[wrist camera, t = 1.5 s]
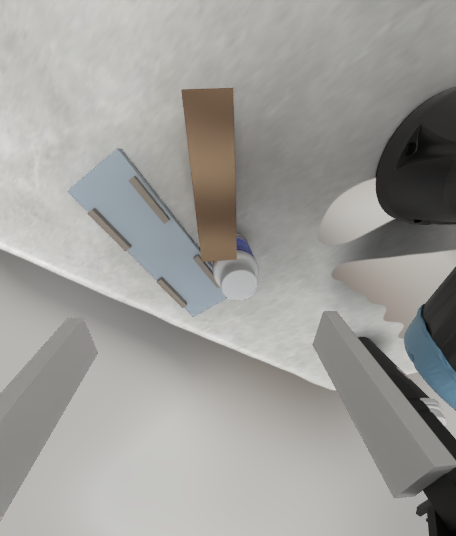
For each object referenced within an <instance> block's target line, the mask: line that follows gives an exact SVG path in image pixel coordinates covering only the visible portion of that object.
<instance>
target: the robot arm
mask: <svg viewBox="0 0 456 536" xmlns="http://www.w3.org/2000/svg"><path fill="white" fill-rule="evenodd" d="M376 193H377V198H378V201H379V203H380V205H381V207H382V209H383V210H384V211H385V212H386V213H387V214H388V215H390V216H391V217H393V218H396V219H399V220H402V221H405V222H408V223H411V224H418V225H429V224H437V225H443V224H456V87H455V88H451V89H448V90H446V91H443V92H441V93H439V94H437V95H435V96H434V97H432V98H430V99H429V100H427V101H426V102H424V103H423V104H422V105H421V106H419V107H418V108H417V109H416V110H415V111H414V112H412V113H411V114H410V115H409V116H408V117H407V119H406V120H405V121H404V122H403V123H402V124H401V125H400V127H399V128H398V129H397V131H396V132H395V134H394V135H393V137H392V138H391V140H390V141H389V143H388V145H387V147H386V149H385V151H384V153H383V155H382V158H381V161H380V164H379V167H378V171H377V177H376ZM404 344H405V349H406V351H407V353H408V356H409V358H410V359H411V361H412V362H413V363H414V365H415V368H416V369H417V371H418V372H419V374H420V375H421V376H422V377H423V379H424V380H425V381H426V382H427V383H428V384H429V386H430V387H431V388H432V389H433V390H434V391H435V392H436V393H437V394H438V395H439V396H440V397H441V398H442V399H443V400H444V401H445V402H446V403H448V404H449V405H450V406H451V407H452V408H453V409H454V410H456V267H455V268H454V269H453V271H452V272H451V273H450V274H449V276H448V277H447V278H446V279H445V280H444V282H443V283H442V284H441V285H440V286H439V288H438V289H437V290H436V291H435V292H434V294H433V295H432V296H431V297H430V299H429V300H428V301H427V302H426V304H423V305H422V306H421V307H420V308H419V309H418V312H417V316H416V317H415V318H414V320H413V321H412V323H411V324H410V325H409V327H408V328H407V330H406V332H405V336H404ZM313 346H314V348H315V350H316V352H317V354H318V356H319V358H320V360H321V362H322V363H323V365H324V367H325V369H326V371H327V373H328V375H329V377H330V379H331V380H332V382H333V384H334V386H335V388H336V390H337V392H338V393H339V395H340V397H341V399H342V401H343V403H344V405H345V407H346V409H347V411H348V412H349V414H350V416H351V418H352V420H353V422H354V424H355V426H356V427H357V429H358V431H359V433H360V435H361V437H362V439H363V441H364V443H365V444H366V446H367V448H368V450H369V452H370V454H371V456H372V458H373V459H374V461H375V463H376V465H377V467H378V469H379V471H380V473H381V474H382V476H383V478H384V480H385V482H386V484H387V486H388V488H389V490H390V492H391V494H392V495H393V497H394V498H402V497H412V496H415V495H417V494H418V493H420V492H421V491H422V490H423V491H424V493H425V494H426V496H427V498H428V500H426V501H425V502H423V503H422V504H420V505H419V506H418V507H417V511H416V514H418V515H419V516H422V515H424V514H425V513H427V516H428V518H427V519H426V521H427V522H428V527H429V536H456V439H455V438H454V437H453V436H452V435H451V433H450V432H449V431H448V430H447V429H446V428H445V426H444V425H443V424H442V423H441V422H440V420H439V419H438V418H437V417H436V416H435V415H434V413H433V412H431V411H430V409H429V408H428V406H427V405H426V404H425V403H424V402H423V401H421V400H420V397H419V396H418V395H417V394H416V392H415V391H414V390H413V389H412V388H411V387H410V386H409V384H407V383H406V382H405V381H404V380H402V379H401V378H400V377H399V376H397V375H396V374H395V373H394V374H386V373H385V371H384V370H383V369H382V368H381V366H380V365H379V364H378V363H377V361H376V360H375V359H374V358H373V356H372V355H371V354H370V352H369V351H368V350H367V349H366V347H365V346H364V345H363V344H362V342H361V341H360V340H359V339H358V337H357V336H356V335H355V334H354V332H353V331H352V330H351V329H350V327H349V326H348V325H347V324H346V322H345V321H344V320H343V319H342V317H341V316H340V315H339V314H338V312H337V311H324V312H323V315H322V318H321V321H320V324H319V327H318V330H317V333H316V336H315V339H314V342H313ZM97 354H98V352H97V350H96V347H95V345H94V342H93V340H92V337H91V335H90V333H89V330H88V328H87V326H86V323H85V321H84V319H83V318H67V319H66V321H65V322H64V323H63V324H62V325H61V326H60V327H59V328H58V330H57V331H56V332H55V333H54V334H53V335H52V336H51V337H50V338H49V340H48V341H47V342H46V343H45V344H44V346H42V347H41V349H40V350H39V351H38V352H37V353H36V354H35V355H34V356H33V358H32V359H31V360H30V361H29V362H28V363H27V364H26V366H25V367H24V368H23V369H22V370H21V371H20V372H19V373H18V374H17V376H16V377H15V378H14V379H13V380H12V381H11V382H10V383H9V384H8V386H7V387H6V388H5V389H4V390H3V391H2V392H1V394H0V521H1V519H2V517H3V516H4V514H5V512H6V510H7V509H8V507H9V505H10V504H11V502H12V500H13V498H14V497H15V495H16V493H17V491H18V490H19V488H20V486H21V485H22V483H23V481H24V479H25V478H26V476H27V474H28V472H29V471H30V469H31V467H32V466H33V464H34V462H35V460H36V459H37V457H38V455H39V454H40V452H41V450H42V448H43V446H44V445H45V443H46V441H47V440H48V438H49V436H50V435H51V433H52V431H53V429H54V428H55V426H56V424H57V423H58V421H59V419H60V417H61V416H62V414H63V412H64V411H65V409H66V407H67V405H68V404H69V402H70V400H71V398H72V397H73V395H74V393H75V392H76V390H77V388H78V386H79V385H80V383H81V381H82V379H83V378H84V376H85V374H86V373H87V371H88V369H89V367H90V366H91V364H92V362H93V361H94V359H95V357H96V355H97Z"/></svg>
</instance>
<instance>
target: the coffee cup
mask: <svg viewBox="0 0 456 536" xmlns="http://www.w3.org/2000/svg"><path fill="white" fill-rule="evenodd" d="M358 339H359V340H360V341H361V342H362V344H363V345H364V346H365V347H366V349H367V350H368V351H369V352H370V354H371V355H372V356H373V358H374V359H375V360H376V361H377V363H378V364H379V365H380V366H381V368H382V369H383V370H384V371H385V373H386V374H394V373H395V374H396V375H397V376H399V377H400V378H401V379H402V380H404V381H405V382H406V383H407V384H409V386H410V387H411V388H412V389H413V390H414V391H415V392H416V394H417V395H418V396H419V397H420V400H421V401H423V402H424V403H425V404H426V405H427V406H428V408H429V409H430V411H431V412H433V413H434V415H435V416H436V417H437V418H438V419H439V420H440V422H441V423H442V424H443V425H444V426H445V425H446V423H447V421H446V419H445V417H444V415H443V410H442V408H441V406H440V404H439V403H438V401H436V400H434V399H431V398H429V397H428V396H427V395H426V394H425V393H424V392H423V391H422V390H421V389H420V388H419V387H418V386H417V385H416V384H415V383H414V382H412V380H411V379H409V378H408V377H407V376H406V375H405V374H404V373H403V372H402V371H401V370H400V369H399V368H398V367H397V366H396V365H395V364H394V363H393V362H392V361H391V360H390V359H389V358H388V357H387V356H386V355H385V354H384V353H383V352H382V351H381V350H380V349H379V348H378V347H377V346H376V345H375V344H374V343H373V342H372V341H371V340H370V339H368V338H365V337H359V338H358Z"/></svg>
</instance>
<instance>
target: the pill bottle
mask: <svg viewBox="0 0 456 536" xmlns="http://www.w3.org/2000/svg"><path fill="white" fill-rule="evenodd" d="M236 240H237V260H224V261H213V274H214V279H215V281H216V283H217V284H218V285H219V286H220V287H221V290H222V292H223V294H224V295H225V296H226V297H227V298H229V299H231V300H235V301H241V300H245V299H247V298H249V297H251V296H252V295H253V294H254V293H255V291H256V290H257V286H258V281H257V277H258V265H257V262H256V260H255V258H254V256H253V254H252V251H251V249H250V247H249V245H248V242H247V241H246V239H245V238H244V237H243V236H241V235H240V234H237V233H236Z"/></svg>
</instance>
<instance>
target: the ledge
mask: <svg viewBox="0 0 456 536" xmlns="http://www.w3.org/2000/svg"><path fill="white" fill-rule="evenodd" d="M67 192H68V193H69V194H70V195H71V196H72V197H73V198H74V199H75V200H76V201H77V202H78V203H79V204H80V205H81V206H82V207H83V208H84V209H85V210H86V211H87V212H88V213H87V214H88V215H89V216H90V217H92V218H93V219H94V220H95V221H96V222H97V223H98V224H99V225H100V226H101V227H102V228H103V229H104V230H105V231H106V232H107V233H108V234H109V235H110V236H111V237H112V238H113V239H114V240H115V241H116V242H117V243H118V244H119V245H120V246H121V247H122V248H123V249H124V250H125V251H126V250H127V251H128V252H129V253H130V254H131V255H132V256H133V257H134V258H135V259H136V260H137V261H138V262H139V263H140V264H141V265H142V266H143V267H144V268H145V269H146V270H147V271H148V272H149V273H150V274H151V275H152V276H153V277H154V278H155V279H156V280H157V283H158V284H159V285H160V286H161V287H162V288H163V289H164V290H165V291H166V292H167V293H168V294H169V295H170V296H171V297H172V298H173V299H174V300H175V301H176V302H177V303H178V304H179V305H180V306H181V307H182V308H185V309H186V310H187V311H188V312H189V313H190V314H191V315H192V316H193V317H194V316H196V315H198V314H199V313H201V312H203V311H205V310H207V309H208V308H210V307H212V306H214V305H215V304H217V303H219V302H221V301H223V300H224V299H226V298H227V297H226V296H225V295H224V294H223V292H222V290H221V287H220V286H219V285H218V284H217V283H216V281H215V279H214V274H213V265H212V264H211V263H210V262H202V259H201V251H200V249H199V248H198V246H197V245H196V244H195V243H194V241H193V240H192V239H191V237H190V236H189V235H188V234H187V232H186V231H185V230H184V229H183V227H182V226H181V225H180V223H179V222H178V221H177V220H176V218H175V217H174V216H173V215H172V213H171V212H170V211H169V209H168V208H167V207H166V206H165V204H164V203H163V202H162V201H161V199H160V198H159V197H158V195H157V194H156V193H155V192H154V190H153V189H152V188H151V187H150V185H149V184H148V183H147V181H146V180H145V179H144V178H143V176H142V175H141V174H140V173H139V171H138V170H137V169H136V167H135V166H134V165H133V164H132V162H131V161H130V160H129V159H128V157H127V156H126V155H125V153H124V152H123V151H122V150H121V149H117V150H116V151H114V152H113V153H112V154H111V155H110V156H108V157H107V158H106V159H105V160H104V161H103V162H101V163H100V164H99V165H98V166H97V167H95V168H94V169H93V170H92V171H91V172H90V173H88V174H87V175H86V176H85V177H84V178H82V179H81V180H80V181H79V182H78V183H77V184H75V185H74V186H73V187H72V188H71V189H69V190H68V191H67Z"/></svg>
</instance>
